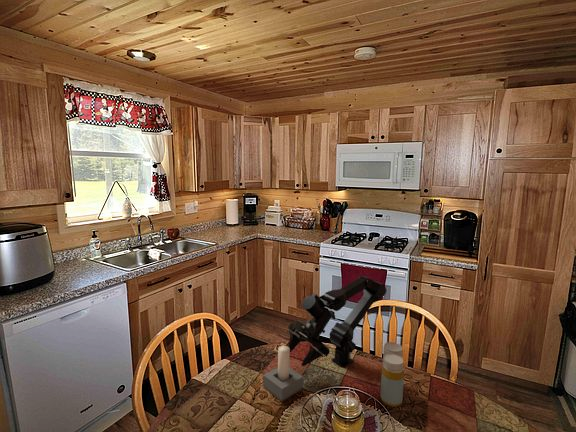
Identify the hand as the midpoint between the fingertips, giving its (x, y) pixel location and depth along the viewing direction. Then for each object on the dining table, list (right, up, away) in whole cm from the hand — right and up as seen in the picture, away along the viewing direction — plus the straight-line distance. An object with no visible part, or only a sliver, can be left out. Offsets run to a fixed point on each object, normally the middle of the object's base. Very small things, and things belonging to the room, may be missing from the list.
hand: (294, 359), depth 114 cm
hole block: (-4, -9, -2) cm, 10 cm away
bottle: (+32, -11, -7) cm, 35 cm away
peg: (-4, -9, -2) cm, 10 cm away
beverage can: (+35, -10, +1) cm, 36 cm away
